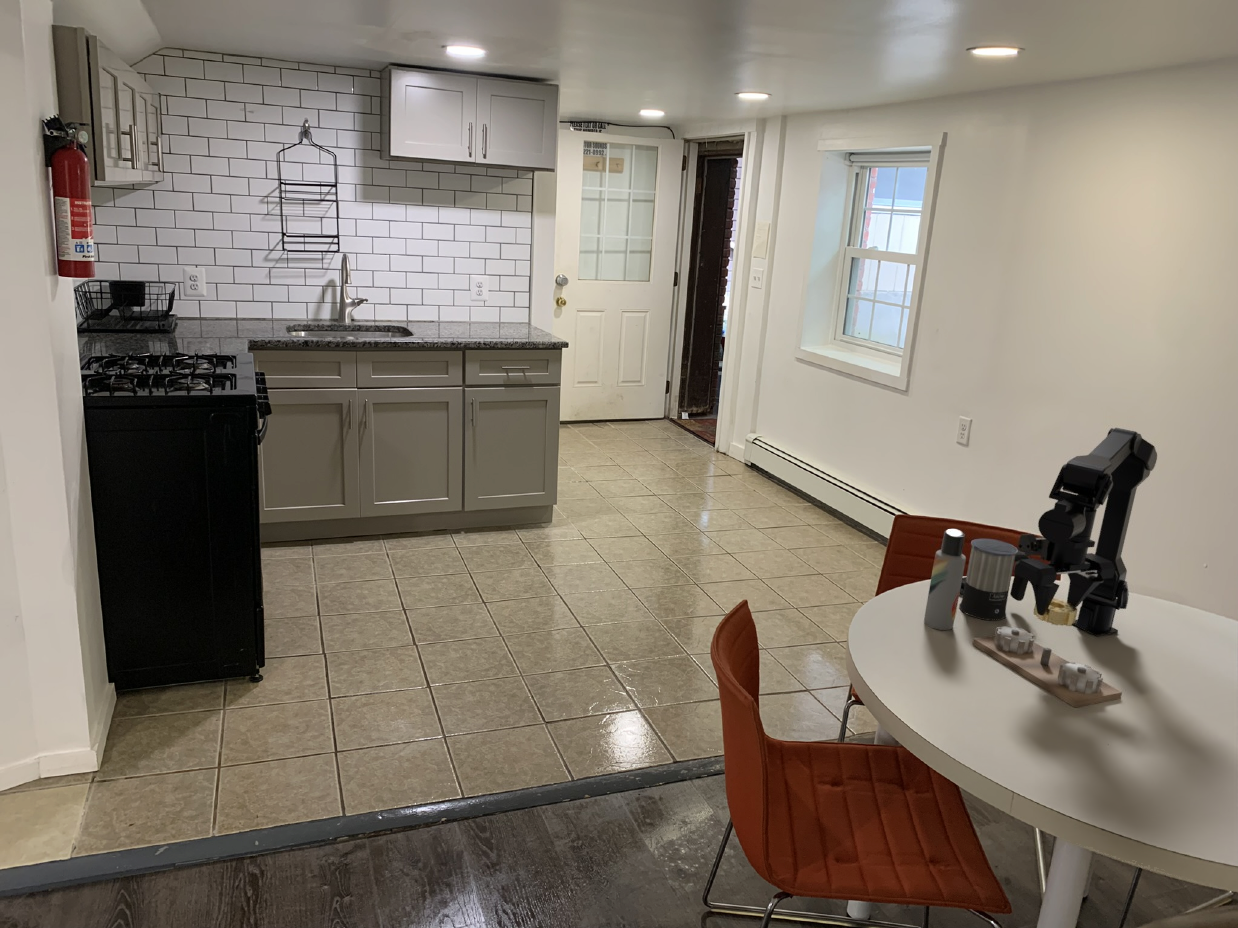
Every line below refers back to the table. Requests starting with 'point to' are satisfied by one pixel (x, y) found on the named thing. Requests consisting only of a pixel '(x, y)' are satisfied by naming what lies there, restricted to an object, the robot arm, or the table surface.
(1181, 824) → the table surface
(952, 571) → the lotion bottle
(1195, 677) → the table surface
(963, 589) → the milk frother
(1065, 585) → the table surface
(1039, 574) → the robot arm
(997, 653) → the gear board
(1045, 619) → the brass gear
